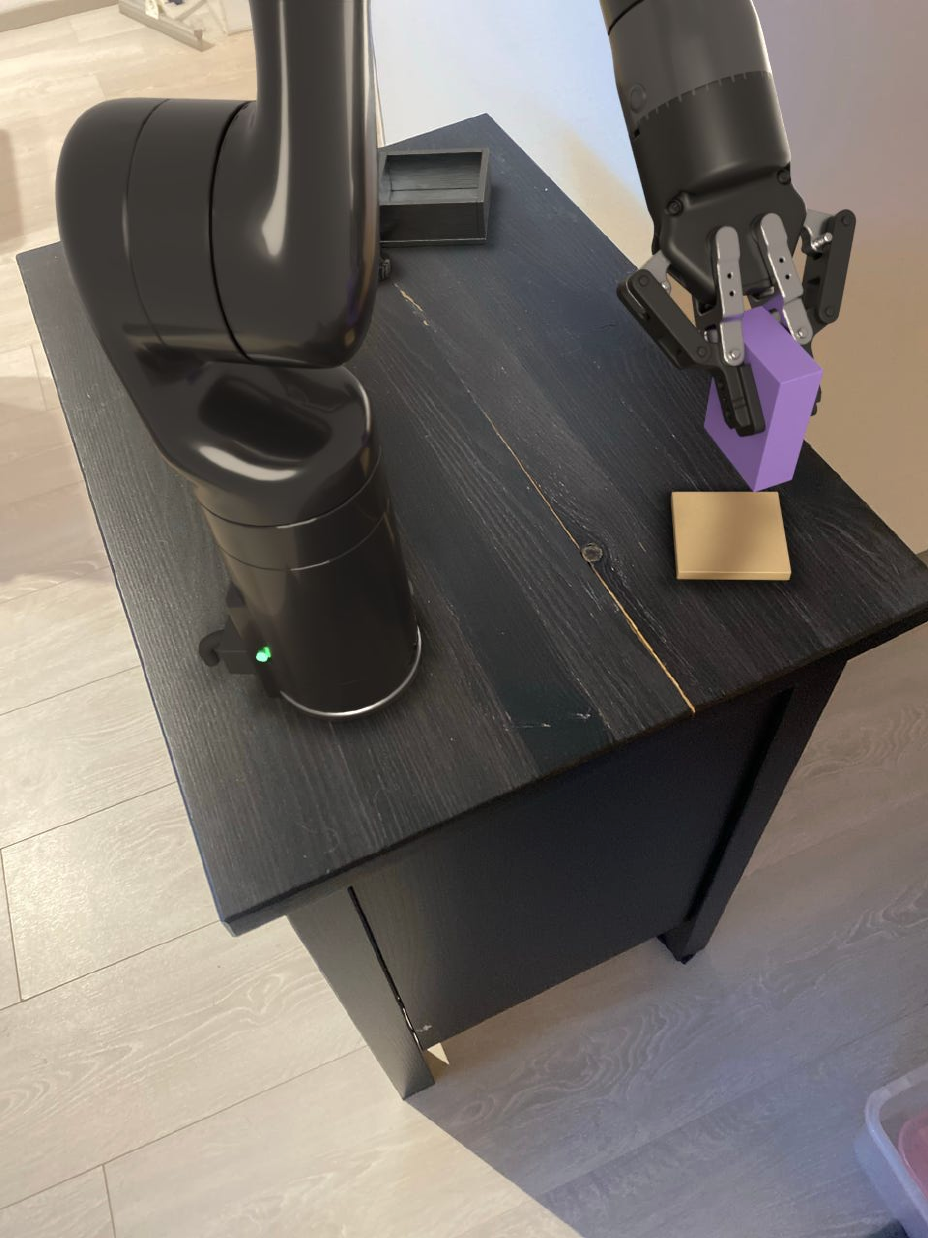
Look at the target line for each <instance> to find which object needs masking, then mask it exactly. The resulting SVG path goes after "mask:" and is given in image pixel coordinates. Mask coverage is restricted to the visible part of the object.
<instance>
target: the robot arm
mask: <svg viewBox="0 0 928 1238" xmlns="http://www.w3.org/2000/svg"><path fill="white" fill-rule="evenodd" d="M247 2H248V6H249V13H250V19H251V27H252V35H253V43H254V50H255V68H256V99H229V98H228V99H225V98H224V99H223V98H222V99H220V98H186V97H185V98H184V97H181V98H178V97H143V96H142V97H137V96H136V97H119V98H114V99H108V100H103V101H101V102H99V103H96V104H95V105H93V106H91V107H90V108H88V109H86V110H85V111H84V112H83V113H82V114H80V115H79V116H78V118H77V119H76V120H75V121H74V123H73V124H72V126H71V127H70V128H69V129H68V132H67V134H66V136H65V138H64V140H63V143H62V146H61V149H60V152H59V156H58V161H57V166H56V174H55V181H54V182H55V183H54V184H55V188H54V191H55V192H54V199H55V213H56V223H57V229H58V237H59V241H60V245H61V249H62V254H63V256H64V260H65V264H66V267H67V270H68V275H69V277H70V280H71V284H72V286H73V289H74V291H75V294H76V296H77V299H78V301H79V303H80V306H81V308H82V311H83V312H84V315H85V317H86V320H87V322H88V324H89V326H90V328H91V329H92V331H93V333H94V335H95V338H96V340H97V341H98V343H99V346H100V347H101V349H102V351H103V353H104V355H105V357H106V359H107V360H108V362H109V364H110V366H111V368H112V370H113V371H114V373H115V374H116V377H117V378H118V381H119V382H120V384H121V386H122V388H123V389H124V392H125V394H126V395H127V397H128V399H129V401H130V402H131V404H132V406H133V408H134V410H135V412H136V414H137V415H138V417H139V419H140V421H141V423H142V425H143V427H144V430H146V433H147V435H148V437H149V439H150V440H151V442H152V444H153V446H154V447H155V449H156V450H157V452H158V454H159V455H160V456H161V458H162V459H163V460H164V461H165V462H166V463H167V464H168V465H169V467H171V468H172V469H173V470H174V471H175V472H176V473H178V474H179V475H180V476H181V477H183V478H184V479H186V481H187V482H188V484H189V488H190V489H191V491H192V493H193V496H194V498H195V500H196V502H197V505H198V507H199V509H200V512H201V514H202V516H203V518H204V521H205V524H206V525H207V528H208V530H209V533H210V534H211V536H212V538H213V541H214V543H215V545H216V548H217V550H218V552H219V554H220V557H221V559H222V561H223V564H224V566H225V568H226V571H227V573H228V575H229V581H228V584H227V588H226V591H225V595H224V605H225V608H226V611H227V612H228V615H227V619H226V622H225V626H224V628H223V629H220V630H216V631H213V632H211V633H208V634H207V635H206V636H204V637H203V638H202V639H201V640H200V641H199V644H198V654H199V657H200V658H201V660H202V661H203V663H204V665H205V666H207V667H208V668H210V667H211V668H213V667H215V666H217V665H219V663H220V657H221V659H222V661H223V663H224V665H225V667H226V669H227V671H228V673H229V675H257V678H258V680H259V682H260V684H261V687H262V689H263V690H264V694H265V695H266V696H267V698H273V699H275V698H276V699H277V698H278V699H283V700H284V701H285V702H286V703H287V704H288V705H289V706H290V707H291V708H293V709H294V710H296V711H297V712H298V713H300V714H302V715H305V716H307V717H309V718H312V719H315V720H319V721H323V722H333V723H339V722H341V723H343V722H352V721H357V720H361V719H365V718H368V717H372V716H373V715H376V714H378V713H380V712H382V711H384V710H385V709H387V708H389V707H391V706H392V705H393V704H395V703H396V702H397V701H398V700H400V699H401V698H402V696H403V695H405V693H406V692H407V691H408V690H409V689H410V687H412V684H413V683H414V681H415V679H416V678H417V676H418V673H419V671H420V667H421V665H422V660H423V643H422V637H421V632H420V628H419V626H418V621H417V617H416V614H415V609H414V604H413V598H412V596H415V594H414V587H413V583H412V582H411V581H410V580H409V579H408V574H407V568H406V563H405V558H404V554H403V549H402V543H401V537H400V533H399V529H398V523H397V517H396V513H395V508H394V503H393V499H392V493H391V488H390V482H389V478H388V473H387V468H386V463H385V457H384V453H383V447H382V443H381V438H380V433H379V428H378V422H377V418H376V417H377V415H376V413H375V409H374V405H373V403H372V399H371V397H370V395H369V393H368V391H367V389H366V387H365V386H364V384H363V383H362V381H361V380H360V379H359V378H358V377H357V376H356V375H355V373H353V372H352V371H351V369H349V368H348V367H347V366H345V365H346V364H347V363H348V362H350V361H351V360H352V359H353V358H354V357H355V356H356V355H357V354H358V352H359V350H360V349H361V347H362V345H363V343H364V341H365V339H366V337H367V335H368V332H369V329H370V326H371V323H372V319H373V313H374V309H375V304H376V299H377V298H376V297H377V291H378V283H379V281H378V273H379V257H380V198H379V147H378V145H379V144H378V127H377V107H376V105H377V104H376V85H375V84H376V83H375V63H374V47H373V46H374V44H373V24H372V5H371V3H372V1H371V0H248V1H247ZM598 2H599V5H600V9H601V15H602V18H603V22H604V26H605V29H606V33H607V37H608V42H609V46H610V51H611V58H612V67H613V68H612V69H613V75H614V82H615V88H616V93H617V97H618V100H619V104H620V108H621V111H622V115H623V119H624V123H625V127H626V130H627V131H626V132H627V135H628V139H629V143H630V147H631V151H632V154H633V158H634V163H635V165H636V171H637V174H638V177H639V181H640V186H641V190H642V193H643V197H644V202H645V205H646V209H647V212H648V214H649V216H650V219H651V220H652V224H653V235H652V241H651V245H650V248H651V250H650V251H651V256H650V257H649V258H648V259H647V260H646V261H645V262H644V263H643V264H642V265H641V266H640V267H639V268H638V269H637V270H635V272H632V273H631V274H629V275H628V276H626V277H625V278H623V280H621V281H620V282H619V283H618V284H617V286H616V289H615V294H616V297H617V299H618V300H619V301H620V303H621V304H622V305H623V306H624V307H625V309H626V310H627V311H628V312H629V313H630V315H631V316H632V317H633V319H635V321H636V322H637V323H638V324H639V325H640V327H641V328H642V329H643V330H644V331H645V332H646V334H647V335H648V336H649V337H650V338H651V340H652V341H653V342H654V343H655V344H656V346H657V347H658V349H660V351H661V352H662V353H663V354H664V355H665V357H666V358H667V359H668V360H669V361H670V362H671V364H672V365H673V366H674V367H675V368H676V369H677V370H680V371H686V370H689V369H692V370H703V371H706V372H708V373H709V374H710V375H711V376H713V378H714V381H715V385H716V389H717V393H718V397H719V401H720V404H721V409H722V411H723V412H722V413H723V417H724V421H725V423H726V424H727V426H728V427H729V428H730V429H735V430H736V432H737V434H738V436H740V437H746V436H753V435H756V434H759V433H762V432H764V431H765V428H766V424H765V420H764V416H763V412H762V408H761V404H760V400H759V396H758V392H757V388H756V384H755V379H754V375H753V371H752V367H751V364H747V365H745V364H744V359H745V347H744V339H743V331H742V318H743V316H744V311H745V302H744V297H746V298H747V301H748V303H749V306H750V309H753V308H756V307H759V306H762V307H763V308H764V309H765V310H767V311H769V312H770V313H771V314H772V316H773V317H774V318H775V319H776V320H777V321H778V322H779V323H780V324H781V325H782V326H783V327H784V328H785V329H786V331H787V332H788V333H789V334H790V335H791V336H792V337H793V338H794V339H795V340H796V341H797V342H798V343H799V344H800V345H801V347H802V348H803V349H804V350H805V351H806V352H807V353H808V354H809V355H810V356H811V357H812V358H813V359H814V360H815V357H814V354H813V349H812V342H813V340H814V337H815V336H816V335H817V334H818V333H819V332H820V331H822V330H823V329H824V328H825V327H827V326H828V325H830V324H833V323H835V322H836V321H837V320H838V318H839V316H840V313H841V307H842V301H843V296H844V290H845V285H846V280H847V273H848V271H849V270H848V269H849V264H850V259H851V252H852V249H853V248H852V247H853V243H854V237H855V232H856V231H855V230H856V225H857V216H856V214H855V213H854V212H853V211H852V210H850V209H849V208H844V209H841V210H839V211H838V212H835V213H834V214H830V213H826V212H822V211H819V210H814V209H810V208H808V207H807V202H806V201H805V199H804V196H802V194H801V193H800V192H799V191H798V189H797V188H796V186H795V185H794V182H793V181H792V175H791V174H792V173H791V166H792V165H791V164H792V153H791V150H790V145H789V141H788V140H789V139H788V136H787V131H786V127H785V123H784V119H783V114H782V110H781V106H780V101H779V97H778V93H777V88H776V85H775V79H774V76H773V72H772V67H771V61H770V57H769V54H768V50H767V46H766V41H765V37H764V33H763V29H762V26H761V22H760V18H759V15H758V13H757V10H756V7H755V5H754V2H753V0H598ZM800 238H801V239H800ZM799 240H801V247H800V252H801V253H802V254H805V255H806V258H805V262H804V263H805V264H804V270H803V275H802V280H801V278H800V276H799V273H798V269H797V267H796V264H795V262H794V259H793V258H794V254H795V252H796V249H797V246H798V243H799ZM668 276H670V277H671V278H672V279H673V280H674V281H676V283H678V284H679V286H681V287H682V288H683V289H684V290H685V291H687V292H688V293H689V294H690V295H691V303H692V309H693V317H694V323H693V322H692V321H691V320H690V318H689V317H688V316H687V315H686V313H685V312H684V311H683V310H682V309H681V308H680V306H679V304H678V303H676V300H674V299H673V297H672V296H671V293H672V284H671V282H670V281H669V278H668ZM772 288H773V289H772ZM822 392H823V391H822V388H821V384H820V385H819V388H818V392H817V395H816V398H815V402H814V405H813V409H812V412H811V416H810V418H811V417H813V416H816V415H817V414H818V405H817V404H818V403H821V399H822ZM217 647H219V648H218V653H219V654H218V653H217V652H216V650H215V648H217ZM219 655H220V657H219Z"/></svg>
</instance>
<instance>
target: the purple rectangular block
mask: <svg viewBox="0 0 928 1238" xmlns="http://www.w3.org/2000/svg"><path fill="white" fill-rule="evenodd" d="M742 331H743V339H744V347H745V359H744V364H745V365H747V364H751V367H752V371H753V375H754V379H755V384H756V388H757V392H758V396H759V400H760V404H761V408H762V412H763V416H764V420H765V424H766V428H765V431H764V432H762V433H759V434H756V435H753V436H746V437H740V436H738V434H737V432H736V430H735V429H730V428H729V427H728V426H727V424H726V423H725V421H724V417H723V413H722V412H723V411H722V409H721V404H720V401H719V397H718V393H717V389H716V385H715V381H714V378H713V376H712V375H711V376H712V377H711V383H710V389H709V394H708V400H707V406H706V412H705V417H704V423H703V428H704V430H705V431H706V432H707V434H708V436H710V437H711V439H712V440H713V441H714V443H715V444H716V445H717V447H718V448H719V449H720V450H721V452H722V453H723V454H724V455H725V457H726V459H728V461H729V462H730V464H732V466H733V467H734V469H735V470H736V471H737V472H738V474H739V475H740V477H741V478H742V479H743V480H744V481H745V483H746V484H747V486H748V487H749V488H750V490H751V492H761V491H762V490H765V489H769V488H771V487H775V486H777V485H780V484H784V483H786V482H789V481H792V480H793V477H794V474H795V471H796V467H797V464H798V461H799V457H800V453H801V451H802V446H803V443H804V440H805V437H806V432H807V429H808V426H809V423H810V419H811V417H812V416H811V412H812V409H813V405H814V402H815V398H816V395H817V392H818V388H819V385H820V386H821V381H822V378H823V374H824V369H823V368H822V367H821V365H819V364H818V363H817V361H816V360H815V358H814V357H813V358H814V359H813V358H812V357H811V356H810V355H809V354H808V353H807V352H806V351H805V350H804V349H803V348H802V347H801V345H800V344H799V343H798V342H797V341H796V340H795V339H794V338H793V337H792V336H791V335H790V334H789V333H788V332H787V331H786V329H785V328H784V327H783V326H782V325H781V324H780V323H779V322H778V321H777V320H776V319H775V318H774V317H773V316H772V314H771V313H770V312H769V311H767V310H765V309H764V308H763V307H762V306H759V307H756V308H753V309H751V308H749V309H746V310H744V316H743V318H742ZM810 416H811V417H810Z"/></svg>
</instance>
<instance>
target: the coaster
mask: <svg viewBox="0 0 928 1238" xmlns="http://www.w3.org/2000/svg"><path fill="white" fill-rule="evenodd" d="M670 507H671V508H670V509H671V521H672V535H673V547H674V561H675V573H676V579H677V580H720V581H721V580H726V581H727V580H730V581H732V580H734V581H735V580H736V581H737V580H738V581H751V580H752V581H789V580H790V578H791V574H792V568H791V562H790V557H789V556H790V555H789V550H788V544H787V539H786V534H785V533H786V532H785V528H784V526H785V525H784V521H783V516H782V515H783V514H782V508H781V503H780V497H779V492H778V491H757V492H753V491H672V492H671V496H670Z"/></svg>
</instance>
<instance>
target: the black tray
mask: <svg viewBox="0 0 928 1238" xmlns="http://www.w3.org/2000/svg"><path fill="white" fill-rule="evenodd" d="M490 154H491V153H490V147H465V148H464V147H463V148H445V149H444V148H441V149H438V148H437V149H413V150H388V151H387V150H385V151H384V150H383V151H381V152H380V156H379V159H378V164H379V198H380V246H381V247H382V248H398V247H399V248H400V247H405V248H406V247H437V246H438V247H439V246H440V247H441V246H473V245H474V246H475V245H476V246H477V245H479V246H480V245H487V238H488V230H489V229H488V227H489V219H490V209H491V200H492V174H491V158H490V157H491V156H490Z"/></svg>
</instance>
